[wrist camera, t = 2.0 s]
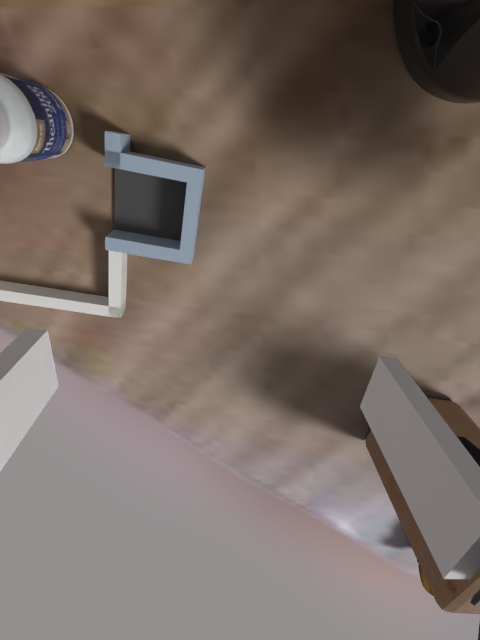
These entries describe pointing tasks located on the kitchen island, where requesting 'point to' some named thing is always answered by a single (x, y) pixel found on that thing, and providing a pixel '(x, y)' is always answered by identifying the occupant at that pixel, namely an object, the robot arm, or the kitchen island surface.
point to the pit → (149, 204)
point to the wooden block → (445, 591)
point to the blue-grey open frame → (165, 168)
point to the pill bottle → (32, 122)
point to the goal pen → (75, 293)
